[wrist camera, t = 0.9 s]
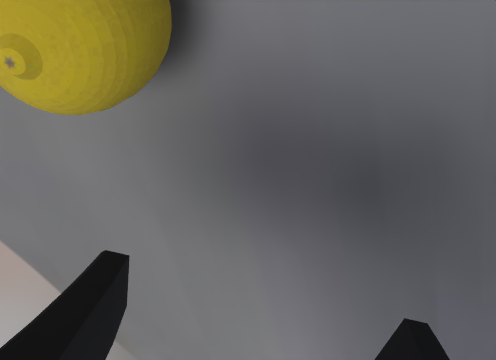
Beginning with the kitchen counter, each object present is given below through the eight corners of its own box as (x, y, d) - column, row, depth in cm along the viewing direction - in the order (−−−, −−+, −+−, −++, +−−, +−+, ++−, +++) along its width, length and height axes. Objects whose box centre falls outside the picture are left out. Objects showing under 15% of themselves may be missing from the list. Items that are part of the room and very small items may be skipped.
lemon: (65, -113, 15) (-126, -116, 8) (211, -49, 15) (140, -4, 9) (54, 33, 18) (-91, 115, 11) (174, 81, 18) (102, 185, 12)
